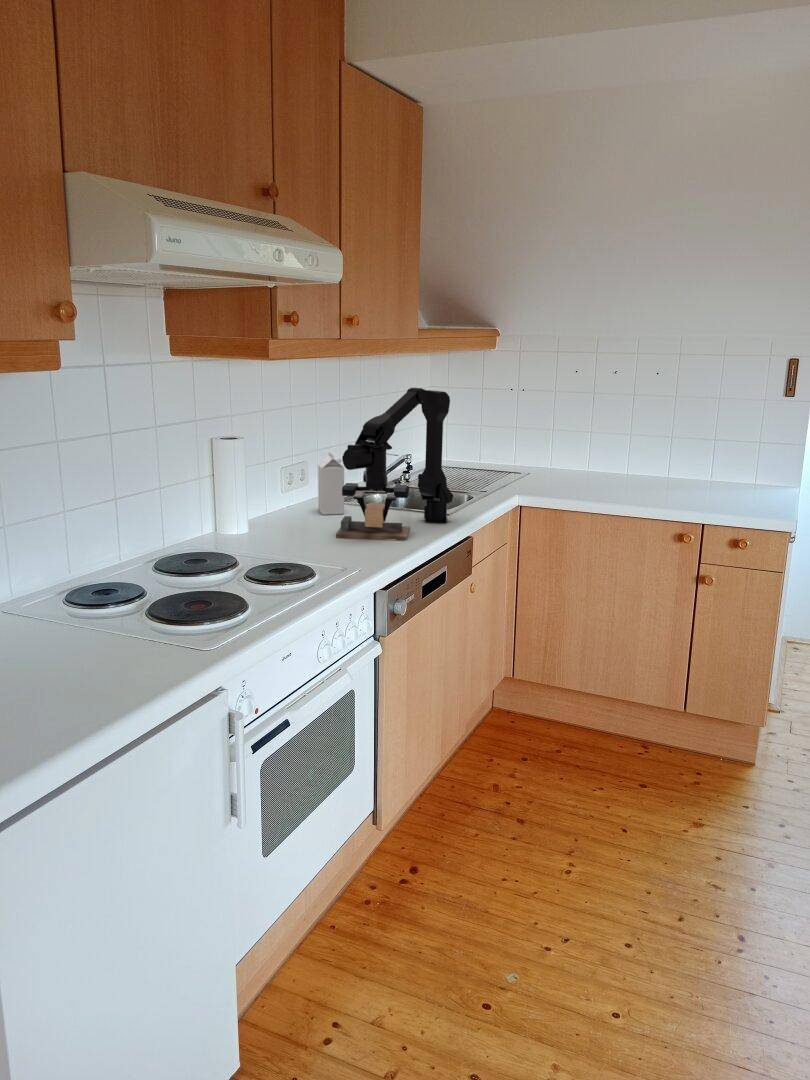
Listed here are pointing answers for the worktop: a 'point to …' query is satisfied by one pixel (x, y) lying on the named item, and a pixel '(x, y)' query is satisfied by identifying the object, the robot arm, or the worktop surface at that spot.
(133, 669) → the worktop surface
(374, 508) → the block
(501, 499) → the worktop surface
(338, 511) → the milk carton
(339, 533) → the rail board
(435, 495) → the robot arm
